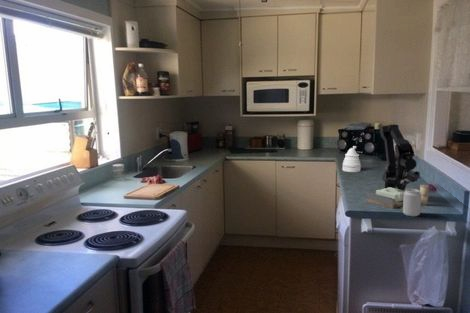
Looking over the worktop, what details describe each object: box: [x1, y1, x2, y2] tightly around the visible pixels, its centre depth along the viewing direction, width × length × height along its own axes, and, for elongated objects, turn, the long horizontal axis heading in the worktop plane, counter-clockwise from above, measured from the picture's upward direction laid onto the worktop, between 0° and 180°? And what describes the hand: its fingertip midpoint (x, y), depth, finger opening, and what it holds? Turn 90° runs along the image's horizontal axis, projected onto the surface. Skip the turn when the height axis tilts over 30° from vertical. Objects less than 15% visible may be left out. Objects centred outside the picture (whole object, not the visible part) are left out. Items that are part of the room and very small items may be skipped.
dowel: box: [419, 184, 430, 207], centre depth 192 cm, size 4×4×10 cm
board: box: [365, 192, 403, 209], centre depth 199 cm, size 20×16×4 cm
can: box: [402, 188, 422, 218], centre depth 177 cm, size 8×8×12 cm
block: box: [375, 187, 405, 202], centre depth 199 cm, size 12×12×4 cm
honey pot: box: [341, 145, 362, 173], centre depth 279 cm, size 13×13×18 cm
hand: (401, 194), depth 203 cm, fingers closed
